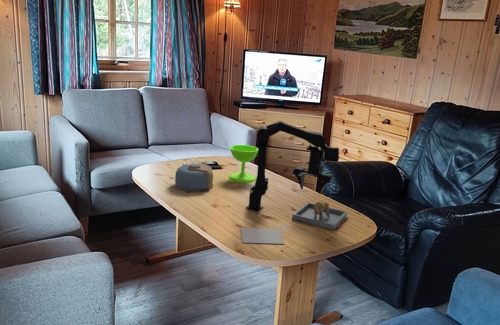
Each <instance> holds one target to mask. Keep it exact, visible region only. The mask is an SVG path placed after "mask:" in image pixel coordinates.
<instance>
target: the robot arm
mask: <svg viewBox="0 0 500 325" xmlns="http://www.w3.org/2000/svg"><path fill="white" fill-rule="evenodd" d="M280 132H283V133H285V134H289V135H291V136H294V137H296V138H299V139H302V140H304V141H306V142H307V143H309V145H308V146H306V150H307V151H309V158H308V162H307V170H306V168H305V167H302V166H296V167H294V168H293V170H292V175H294V176H295V177H296V179H297V181H298V183H299V187H300V190H301V191H302V190H304V181H305V176H310V177H314V178H319V179H321V181H320V186H319V191H318V192H319V195H322V192H323V190H324V189H325V186H327V184H330V183H332V182H333V181H335V180H334V179H335V175H334V174H332V173H328V172H325V173H324V171H325V168H326V167H325V165H323V162H322V161H323V160H322V159H324V161H325V162H330V163H338V162H339V159H340V148H339V147H336V146H335V147H333V146H332V147H331V146H328V145H327V144H326V143H325V142H326V138H325V137H324V135H323V133H321V132H318V131H311V130H305V129H303V128H300V127H297V126H294V125H292V124H288V123H287V122H284V121H282V120H278V121H276V122H274V123H271V124H268V125H266V126H264V125H263V126H260V127H259V128H258V129H257V132H256V139H257V145H258V153H257V155H258V156H257V173H256V177H255V178H256V180H255V181H254V185H253V186H252V187H251V188H250V189H249V194H248V195H249V197H248V198H249V199H248V205H247V206H246V207H245V209H247V210H250V211H253V212H259V211H261V210H262V209H264V206H262V197H263V196H264V195H265V194H266V193H267V191H268V190H269V177H266V161H267V160H266V159H267V146H268V144H269V139H270V137H271V136H274V135H276V134H277V133H280ZM323 173H324V174H323Z"/></svg>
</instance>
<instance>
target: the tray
mask: <svg viewBox="0 0 500 325" xmlns="http://www.w3.org/2000/svg"><path fill="white" fill-rule="evenodd" d="M315 204H316V203H312V202H310V201H307V203H304V205H303V206H301V207H299V209H297V210H296V211H294V212H293V213H292V214H291V215H292V216H291V220H293V221H297V222H301V223H304V224H308V225H312V226H316V227H319V228H324V229H326V228H327V230H330V229H331V231H335V230H336V229H337V228H338V227H339V226H340V224H341V223H342V222H344V220H346V218H347V217H346V216H348V211H345V210H341V209H337V208H333V207H329V215H327V213H328V211H327V212H325V211H326V208H325V209H324V211H323V212H322V220H319V217H320V215H319V214H317V215H316V219H314V217H315V211H314V206H315ZM337 226H338V227H337ZM336 227H337V228H336ZM335 228H336V229H335ZM334 229H335V230H334Z"/></svg>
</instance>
